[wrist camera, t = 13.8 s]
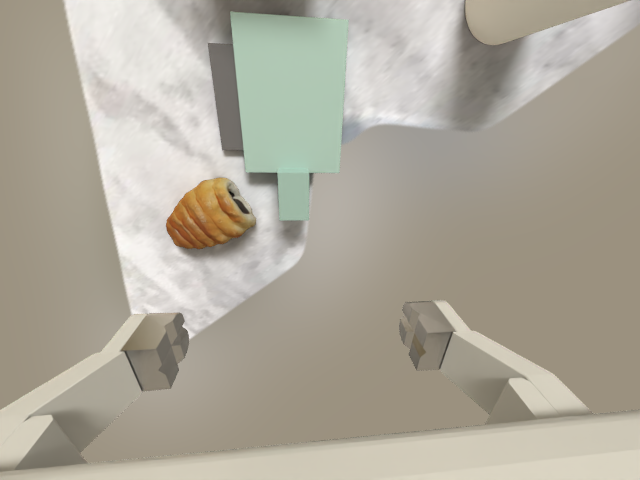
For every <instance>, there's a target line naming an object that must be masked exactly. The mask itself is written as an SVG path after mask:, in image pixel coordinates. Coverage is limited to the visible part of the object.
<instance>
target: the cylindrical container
mask: <svg viewBox="0 0 640 480" xmlns="http://www.w3.org/2000/svg"><path fill="white" fill-rule="evenodd" d="M627 1H630V0H465V14H466V21H467V24H468V27H469V29H470V31H471V33H472V35H473V36H474V37H475V38H476V39H477V40H478V41H480V42H482V43H484V44H487V45H499V44H503V43H506V42H509V41H512V40H515V39H518V38H521V37H524V36H527V35H530V34H533V33H536V32H539V31H542V30H545V29H548V28H550V27H553V26H556V25H559V24H562V23H565V22H568V21H571V20H574V19H577V18H580V17H583V16H586V15H589V14H592V13H595V12H598V11H601V10H604V9H607V8H609V7H612V6H615V5H618V4H621V3H624V2H627Z"/></svg>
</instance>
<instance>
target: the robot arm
mask: <svg viewBox="0 0 640 480" xmlns="http://www.w3.org/2000/svg"><path fill="white" fill-rule="evenodd" d="M402 310H403V313H404V316H403V317H402V319H400V325H399V330H400V336H401V339H402V341H403V344H404V345H405V346H407V347H408V348H409V349H410V352H409V356H410V358H411V360H412V362H413V364H414V366H415V368H416V370H417V371H419V370H440V372H441V373H443V374H444V375H445V376H446V377H447V378H448V379H449V380H451V381H452V382H453V383H454V384H455V385H456V386H458V387H459V388H460V389H461V390H462V391H463V392H464V393H465V394H467V395H468V396H469V397H470V398H471V399H472V400H473V401H474V402H476V403H477V404H478V405H479V406H480V407H481V408H483V409H484V410H485V411H486V412H487V413H488V414H490V416H489V418H488V419H487V421H486V423H485V425H476V426H466V427H456V428H445V429H435V430H425V431H414V432H406V433H405V432H404V433H394V434H384V435H373V436H363V437H353V438H343V439H333V440H322V441H312V442H302V443H293V444H282V445H271V446H261V447H251V448H241V449H231V450H220V451H210V452H201V453H190V454H180V455H169V456H158V457H148V458H138V459H127V460H117V461H107V462H97V463H87V461H86V460H85V459H84V457H83V456H82V455H81V452H82V451H83V450H84V449H85V448H86V447H87V446H88V445H89V444H90V443H91V442H92V441H93V440H94V439H95V438H96V437H97V436H98V435H99V434H100V433H101V432H102V431H104V429H106V428H107V427H108V426H109V424H111V423H112V422H113V421H114V420H115V419H116V418H117V417H118V416H119V415H120V414H121V413H122V412H123V411H124V410H125V409H126V408H127V407H129V405H130V404H132V403H133V402H134V401H135V400H136V399H137V398H138V397H139V396H140V395H141V394H142V391H152V390H161V389H170V388H171V387H172V385H173V382H174V380H175V378H176V375H177V373H178V371H179V368H178V365H177V364H178V363H179V362H180V361H182V360H183V359H184V358H185V355H186V353H187V350H188V345H189V335H188V331H187V330H186V329H185V328H183V327H182V325H183V323H184V318H183V315H182V314H181V313H150V314H134V315H132V316H130V317H129V318H128V319H127V321H126V322H125V323H124V324H123V326H122V327H121V328H120V329H119V330H118V332H117V333H116V334H115V335H114V337H113V338H112V339H111V340H110V342H109V343H108V344H107V345H106V347H105V348H104V349H103V350H102V351H101V353H95V354H93V355H91V356H89V357H88V358H86V359H85V360H83V361H81V362H80V363H78V364H76V365H75V366H73V367H71V368H70V369H68V370H66V371H65V372H63V373H61V374H60V375H58V376H56V377H55V378H53V379H51V380H50V381H48V382H47V383H45V384H43V385H41V386H40V387H38V388H36V389H35V390H33V391H31V392H30V393H28V394H26V395H25V396H23V397H21V398H20V399H18V400H16V401H15V402H13V403H11V404H10V405H8V406H6V407H5V408H3V409H2V410H0V480H640V410H631V411H621V412H610V413H600V414H593V413H592V412H591V411H590V410H589V409H588V408H587V407H586V406H585V405H584V404H583V403H582V402H581V401H580V400H579V399H578V398H577V397H576V396H575V395H574V394H573V393H572V392H571V391H570V390H569V389H568V388H567V387H566V386H565V385H564V384H563V383H562V382H561V381H560V380H559V379H558V378H557V377H556V376H555V375H554V374H552V373H551V372H549V371H547V370H545V369H543V368H542V367H540V366H538V365H536V364H534V363H533V362H531V361H529V360H527V359H525V358H524V357H522V356H520V355H518V354H516V353H514V352H513V351H511V350H509V349H507V348H505V347H504V346H502V345H500V344H498V343H496V342H494V341H493V340H491V339H489V338H487V337H485V336H483V335H482V334H480V333H478V332H476V331H471V330H470V329H469V328H468V327H467V325H466V324H465V323H464V322H463V321H462V319H461V318H460V317H459V316H458V315H457V313H456V312H455V311H454V310H453V309H452V307H451V306H450V305H449V304H448V303H447V302H446V301H445V300H434V301H421V302H405V304H404V305H403V309H402Z"/></svg>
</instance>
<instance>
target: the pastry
mask: <svg viewBox="0 0 640 480" xmlns="http://www.w3.org/2000/svg"><path fill="white" fill-rule="evenodd" d="M255 224H256V218H255V217H254V215H253V214H252V209H251V207H250V205H249V204H248V203H247V202H246V201H245V199H244V198H243V197H242V196H240V193H239V190H238V188H237V186H236V185H235V184H234V183H233V182H232V181H231V180H229V179H227V178H216V179H211V180H204V181H202V182H201V183H200V184H199V185H198V186H197V187H195V188H193V189H192V190H191V191H189V192H188V193H186V194H185V196H184V197H183V198H182V199H181V200H180V201H179V203H178V205H177V206H176V207H175V208H174V211H173V213H172V214H171V215H170V217H169V218H168V219H167V224H166V228H167V232H168V234H169V235H170V237H171V238H172V239H173V242H174V244H175V245H176V246H179V247H184V248H187V249H192V248H197V249H203V248H205V247H212V246H215V245H217V244H224V243H226V242H228V241H229V240H230V239H232V238H238V237H240V236H241V235H242V234H243V233H244V232H245V231H246V230H247V229H249V228H250V227H253V226H254V225H255Z"/></svg>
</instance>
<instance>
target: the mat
mask: <svg viewBox="0 0 640 480" xmlns="http://www.w3.org/2000/svg"><path fill="white" fill-rule="evenodd" d="M208 48H209V55H210V62H211V70H212V77H213V85H214V92H215V99H216V107H217V114H218V121H219V129H220V136H221V143H222V150H244V149H243V139H242V129H241V119H240V109H239V98H238V88H237V78H236V68H235V58H234V48H233V44H217V43H208Z"/></svg>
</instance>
